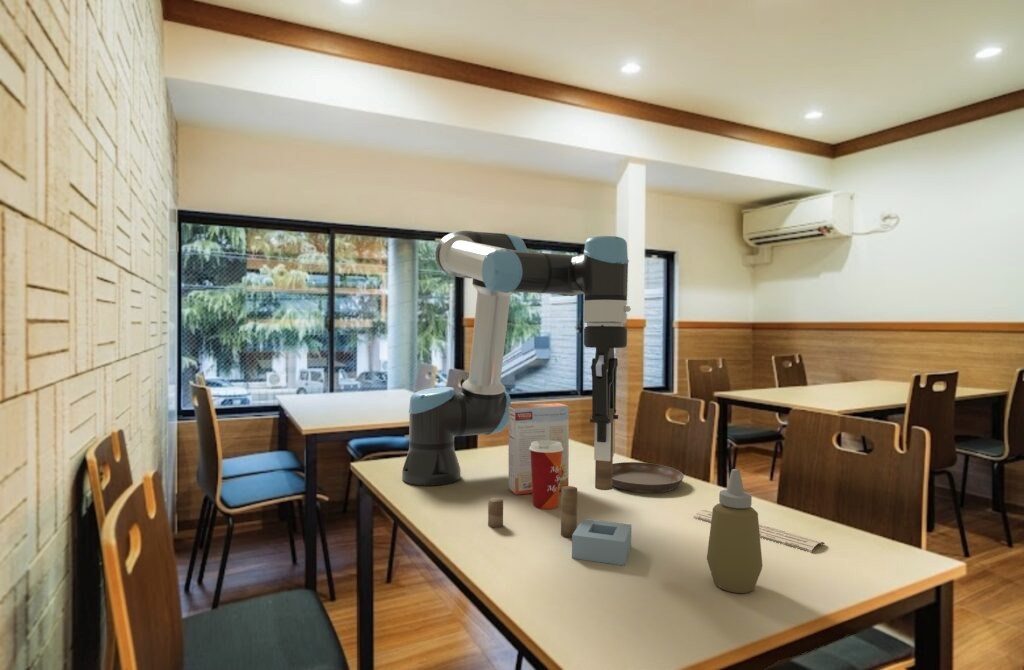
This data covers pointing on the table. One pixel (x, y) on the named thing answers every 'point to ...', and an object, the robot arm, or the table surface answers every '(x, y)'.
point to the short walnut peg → (495, 513)
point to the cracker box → (530, 427)
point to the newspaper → (772, 534)
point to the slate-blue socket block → (602, 541)
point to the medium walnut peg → (568, 511)
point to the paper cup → (546, 473)
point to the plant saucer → (645, 477)
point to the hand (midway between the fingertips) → (604, 457)
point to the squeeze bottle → (734, 539)
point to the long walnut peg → (605, 466)
